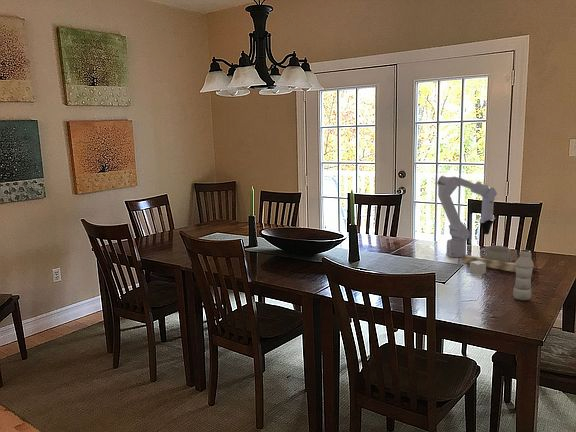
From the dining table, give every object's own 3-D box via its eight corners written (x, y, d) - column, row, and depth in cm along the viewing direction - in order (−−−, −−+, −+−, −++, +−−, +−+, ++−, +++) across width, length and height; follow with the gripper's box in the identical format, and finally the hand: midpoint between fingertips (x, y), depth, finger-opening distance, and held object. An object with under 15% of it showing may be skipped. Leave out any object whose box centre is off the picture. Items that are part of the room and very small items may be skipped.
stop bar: (461, 262, 242) (461, 255, 242) (463, 261, 244) (464, 254, 244) (515, 272, 225) (515, 264, 224) (517, 270, 226) (517, 263, 226)
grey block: (477, 274, 222) (477, 264, 221) (469, 272, 227) (470, 261, 226) (485, 273, 224) (486, 263, 223) (477, 270, 229) (478, 260, 228)
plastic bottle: (509, 297, 193) (512, 249, 189) (525, 296, 194) (528, 248, 190) (518, 302, 187) (521, 253, 183) (534, 301, 187) (538, 252, 184)
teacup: (509, 261, 241) (510, 246, 240) (509, 267, 232) (510, 251, 230) (480, 259, 247) (480, 244, 246) (478, 264, 238) (479, 249, 236)
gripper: (489, 211, 247) (488, 237, 249) (500, 208, 257) (498, 232, 259) (476, 210, 252) (474, 235, 254) (487, 206, 262) (485, 230, 264)
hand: (486, 234), depth 257 cm, fingers closed
